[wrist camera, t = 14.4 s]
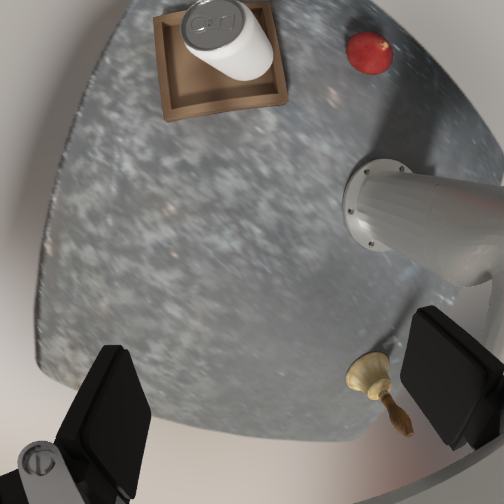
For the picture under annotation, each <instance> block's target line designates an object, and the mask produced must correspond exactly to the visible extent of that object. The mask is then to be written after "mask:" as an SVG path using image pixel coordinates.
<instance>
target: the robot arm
mask: <svg viewBox="0 0 504 504" xmlns="http://www.w3.org/2000/svg"><path fill="white" fill-rule="evenodd" d="M399 168H400V170H399ZM364 170H365V173H364ZM348 209H350V211H349V212H348ZM343 216H344V221H345V224H346V226H347V229H348V231H349V232H350V234H351V235H352V237H353V238H354V239H355V240H356V241H357V242H358V243H359V244H361V245H362V246H364V247H365V248H367V249H369V250H372V251H376V252H387V251H392V250H394V251H396V252H398V253H400V254H401V255H403V256H405V257H406V258H408V259H410V260H412V261H413V262H415V263H417V264H418V265H420V266H422V267H423V268H425V269H427V270H428V271H430V272H432V273H433V274H435V275H437V276H438V277H440V278H442V279H443V280H445V281H447V282H449V283H451V284H453V285H456V286H461V287H471V286H476V285H479V284H482V283H484V282H487V281H489V280H491V279H492V282H493V283H492V292H491V296H490V301H489V309H488V313H487V317H486V320H485V324H484V327H483V330H482V333H481V337H480V340H479V342H478V341H477V340H476V339H474V338H473V337H472V336H471V335H470V334H469V333H467V332H466V331H465V330H464V329H462V328H461V327H460V326H459V325H457V324H456V323H455V322H454V321H453V320H451V319H450V318H449V317H448V316H446V315H445V314H444V313H443V312H441V311H440V310H439V309H438V308H436V307H435V306H433V305H430V306H426V307H422V308H419V309H417V311H416V313H415V314H414V315H413V317H412V323H411V328H410V333H409V338H408V343H407V348H406V352H405V357H404V361H403V365H402V369H401V373H400V379H401V382H402V384H403V385H404V387H405V388H406V389H407V391H408V392H409V393H410V395H411V396H412V398H413V399H414V400H415V402H416V403H417V405H418V406H419V407H420V409H421V410H422V412H423V413H424V414H425V416H426V417H427V419H428V420H429V422H430V423H431V425H432V426H433V427H434V429H435V430H436V432H437V433H438V435H439V436H440V438H441V439H442V440H443V442H444V443H445V444H446V445H449V446H450V447H451V448H452V450H453V451H455V450H456V449H458V448H460V447H462V446H464V445H465V444H466V443H467V442H468V443H469V444H470V448H469V455H467V456H465V457H464V458H462V459H460V460H458V461H456V462H455V463H453V464H451V465H449V466H447V467H445V468H443V469H441V470H439V471H437V472H435V473H433V474H431V475H429V476H426V477H424V478H422V479H420V480H417V481H415V482H413V483H411V484H408V485H406V486H403V487H401V488H398V489H396V490H393V491H390V492H388V493H385V494H382V495H379V496H376V497H373V498H370V499H367V500H364V501H361V502H357V503H354V504H504V186H498V185H490V184H483V183H477V182H471V181H465V180H458V179H451V178H445V177H438V176H431V175H423V174H415V173H413V172H412V171H411V170H410V169H409V168H408V167H407V166H406V165H404V164H402V163H401V162H399V161H396V160H392V159H375V160H372V161H369V162H367V163H365V164H364V165H362V166H361V167H360V168H359V169H358V170H356V171H355V173H354V174H353V175H352V177H351V178H350V180H349V182H348V184H347V186H346V189H345V192H344V197H343ZM369 242H370V243H369ZM150 421H151V410H150V407H149V404H148V402H147V399H146V397H145V394H144V392H143V389H142V387H141V384H140V381H139V379H138V376H137V373H136V370H135V367H134V365H133V362H132V359H131V356H130V353H129V351H128V350H127V349H124V348H123V347H122V346H121V345H104V346H103V347H102V349H101V351H100V352H99V354H98V356H97V358H96V360H95V361H94V363H93V365H92V367H91V369H90V370H89V372H88V374H87V376H86V378H85V380H84V381H83V383H82V385H81V387H80V389H79V391H78V393H77V395H76V397H75V399H74V401H73V402H72V404H71V406H70V408H69V410H68V412H67V415H66V417H65V419H64V420H63V422H62V424H61V427H60V429H59V431H58V433H57V435H56V439H55V441H54V443H51V442H48V441H36V442H32V443H31V444H29V445H27V446H26V447H25V448H24V449H23V450H22V451H21V453H20V454H19V457H18V469H16V470H14V471H12V472H9V473H7V474H4V475H2V476H0V504H129V502H130V499H134V498H135V495H136V490H137V485H138V479H139V474H140V469H141V463H142V458H143V454H144V449H145V443H146V439H147V435H148V430H149V425H150Z"/></svg>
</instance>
